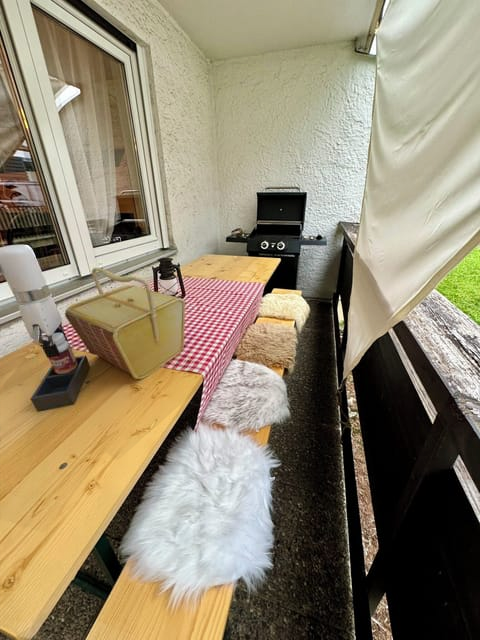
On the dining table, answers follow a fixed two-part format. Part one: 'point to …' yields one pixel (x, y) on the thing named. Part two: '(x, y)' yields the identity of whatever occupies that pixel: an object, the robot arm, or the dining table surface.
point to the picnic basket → (130, 325)
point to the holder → (60, 387)
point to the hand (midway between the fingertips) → (58, 349)
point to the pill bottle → (62, 355)
